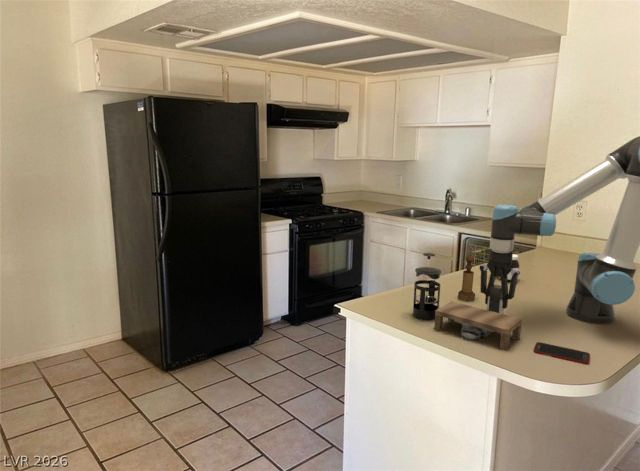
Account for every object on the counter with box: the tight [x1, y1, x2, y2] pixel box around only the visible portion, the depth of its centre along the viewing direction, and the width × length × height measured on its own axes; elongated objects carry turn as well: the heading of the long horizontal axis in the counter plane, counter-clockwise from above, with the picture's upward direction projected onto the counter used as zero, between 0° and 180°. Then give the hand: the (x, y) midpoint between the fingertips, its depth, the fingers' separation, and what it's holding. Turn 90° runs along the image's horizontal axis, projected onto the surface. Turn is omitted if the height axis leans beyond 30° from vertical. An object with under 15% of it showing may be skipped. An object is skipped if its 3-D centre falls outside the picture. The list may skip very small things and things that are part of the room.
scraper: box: [461, 283, 502, 338], centre depth 159 cm, size 8×19×12 cm, turn 138°
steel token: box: [460, 328, 481, 342], centre depth 151 cm, size 6×6×2 cm
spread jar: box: [489, 253, 521, 283], centre depth 212 cm, size 12×11×12 cm
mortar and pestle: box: [457, 254, 476, 302], centre depth 185 cm, size 7×6×18 cm
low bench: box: [433, 300, 523, 351], centre depth 153 cm, size 24×12×6 cm, turn 49°
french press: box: [411, 252, 442, 322], centre depth 167 cm, size 12×9×23 cm
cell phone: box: [533, 341, 591, 366], centre depth 140 cm, size 8×15×1 cm, turn 58°
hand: (494, 314), depth 166 cm, fingers closed on scraper, 3 cm apart
